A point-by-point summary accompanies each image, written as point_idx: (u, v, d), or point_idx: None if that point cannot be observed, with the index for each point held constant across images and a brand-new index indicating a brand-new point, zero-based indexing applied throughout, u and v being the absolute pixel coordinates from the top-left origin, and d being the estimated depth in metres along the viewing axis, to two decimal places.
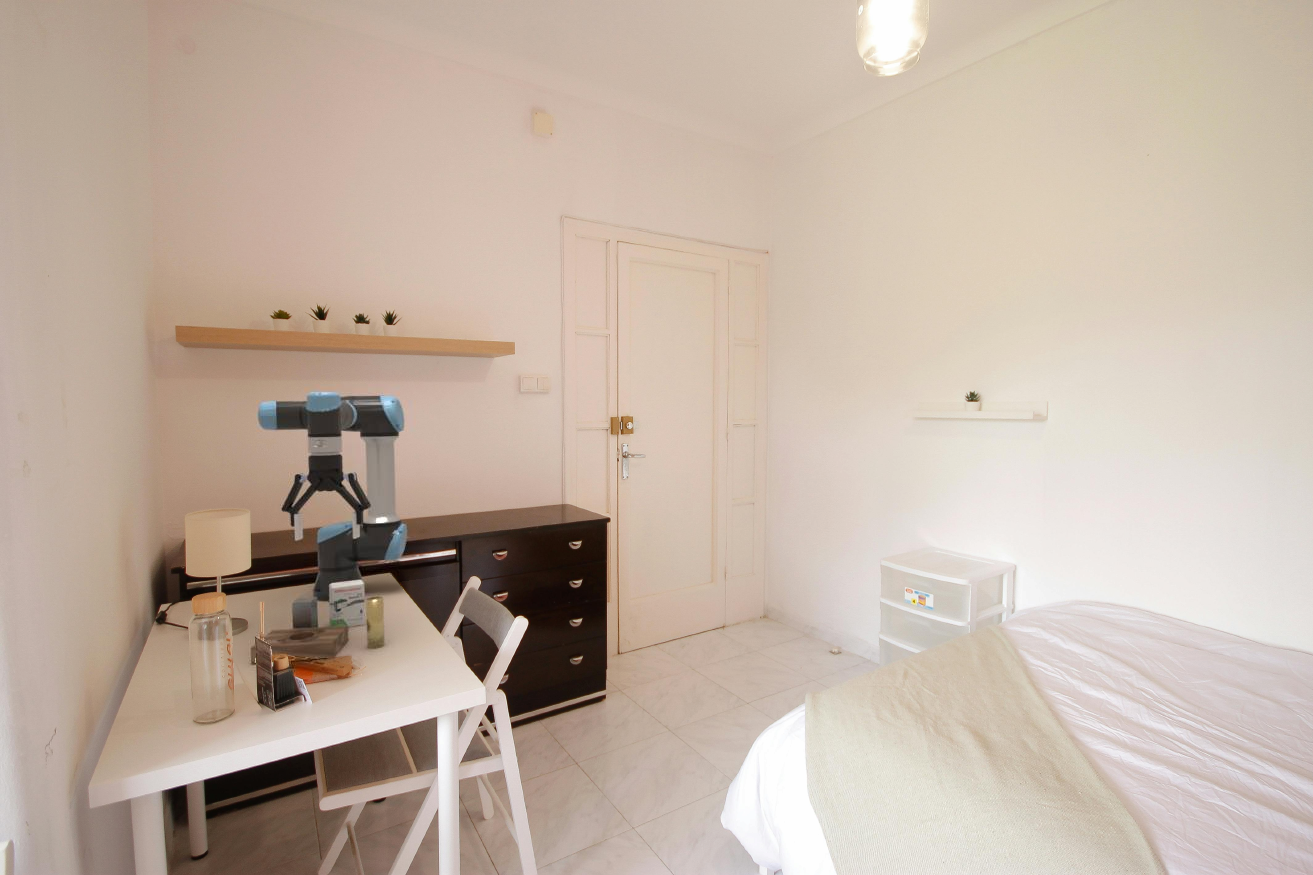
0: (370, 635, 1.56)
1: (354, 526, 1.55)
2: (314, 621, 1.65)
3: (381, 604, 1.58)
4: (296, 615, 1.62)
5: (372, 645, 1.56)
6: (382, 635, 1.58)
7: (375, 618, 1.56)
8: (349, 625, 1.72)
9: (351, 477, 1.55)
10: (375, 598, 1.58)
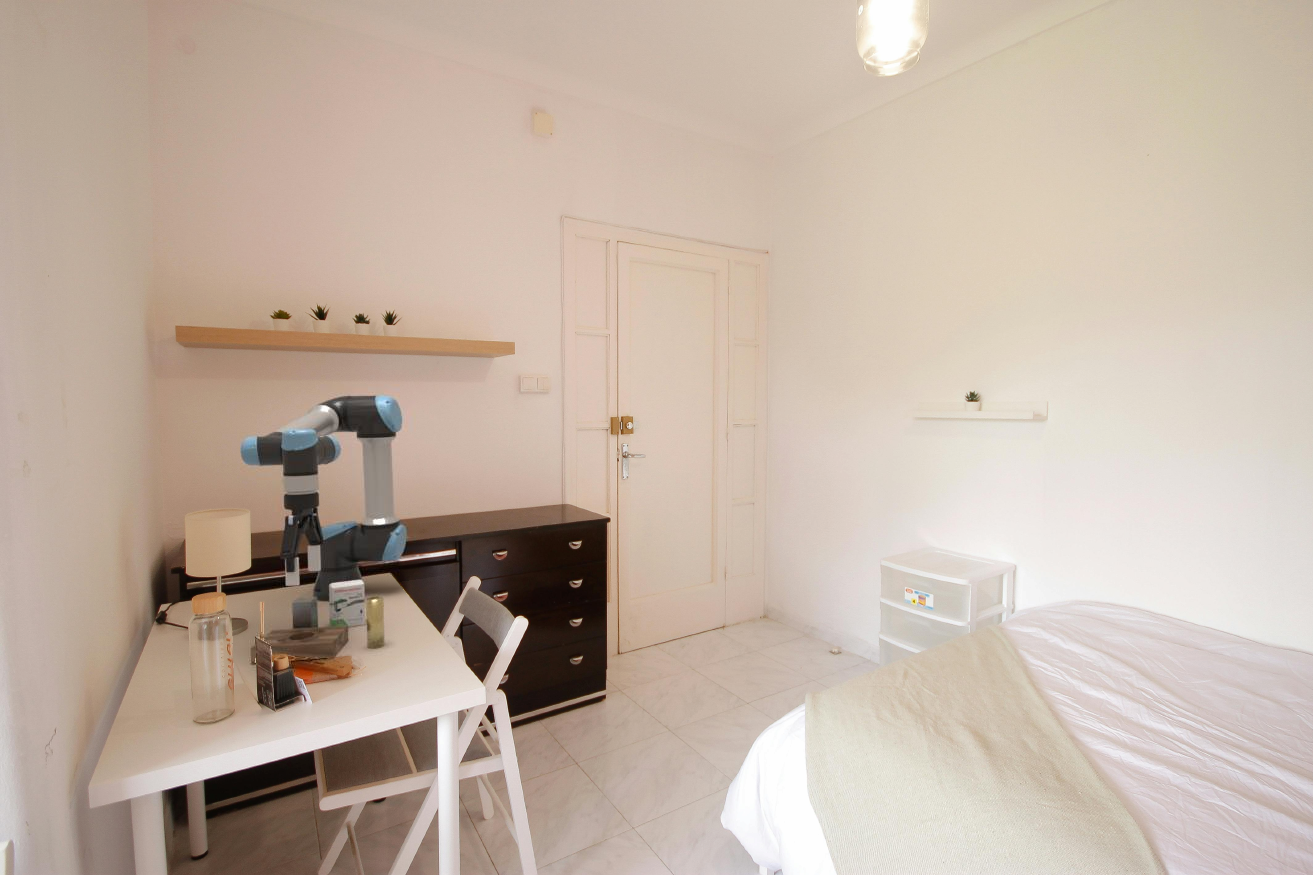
0: (370, 635, 1.56)
1: None
2: (314, 621, 1.65)
3: (381, 604, 1.58)
4: (296, 615, 1.62)
5: (372, 645, 1.56)
6: (382, 635, 1.58)
7: (375, 618, 1.56)
8: (349, 625, 1.72)
9: None
10: (375, 598, 1.58)
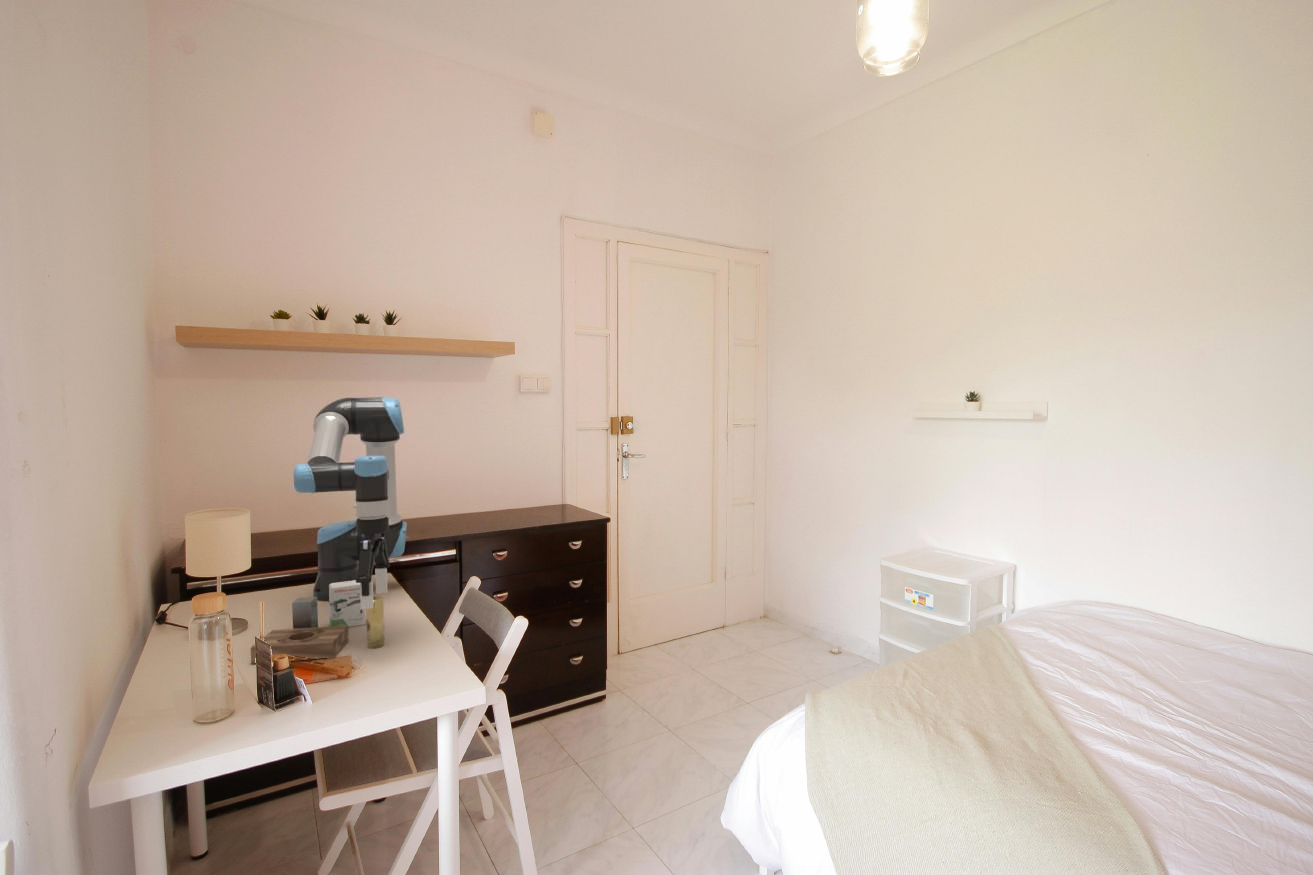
0: (370, 635, 1.56)
1: None
2: (314, 621, 1.65)
3: (381, 604, 1.58)
4: (296, 615, 1.62)
5: (372, 645, 1.56)
6: (382, 635, 1.58)
7: (375, 618, 1.56)
8: (349, 625, 1.72)
9: None
10: (375, 598, 1.58)
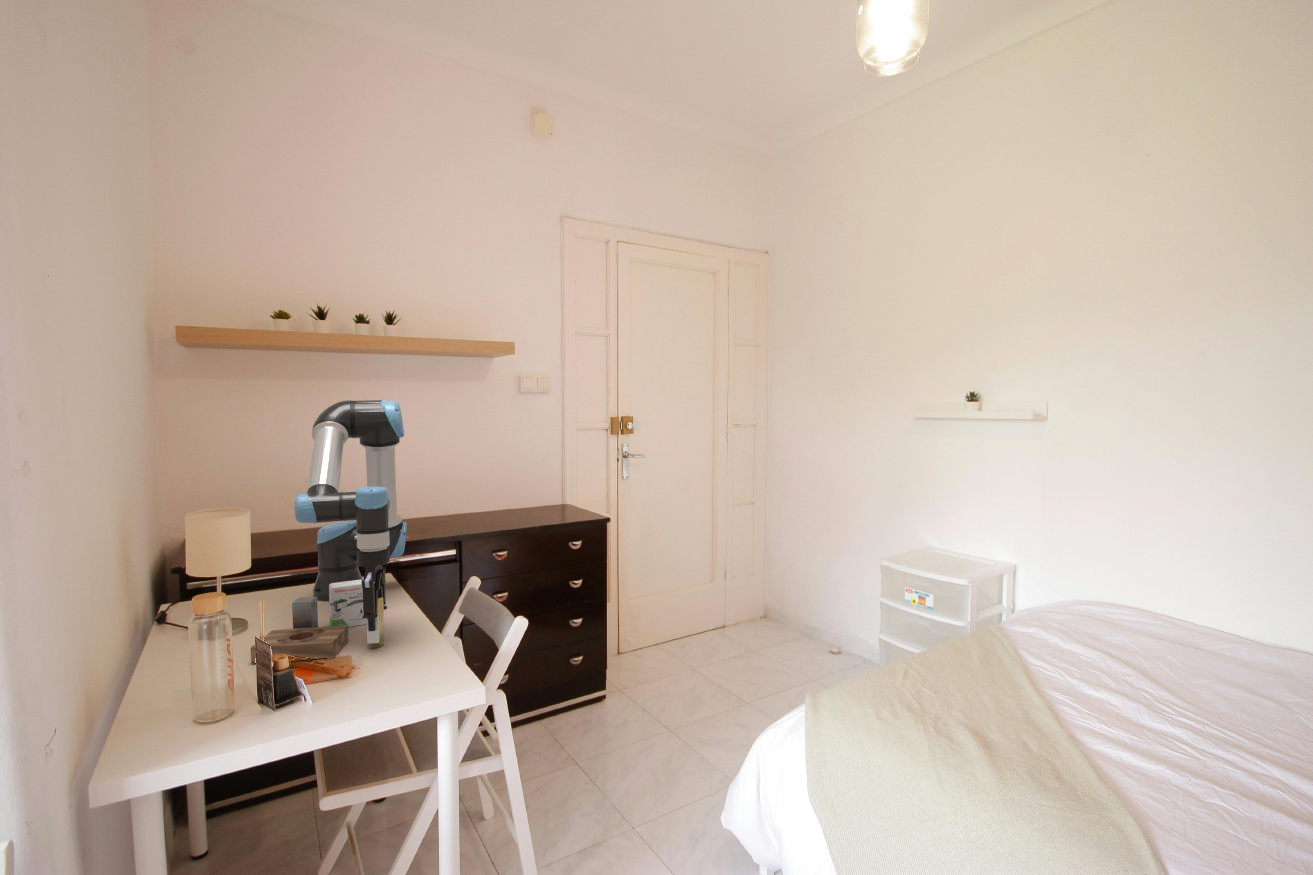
0: None
1: None
2: (314, 621, 1.65)
3: (381, 604, 1.58)
4: (296, 615, 1.62)
5: (372, 645, 1.56)
6: (382, 635, 1.58)
7: None
8: (349, 625, 1.72)
9: None
10: None
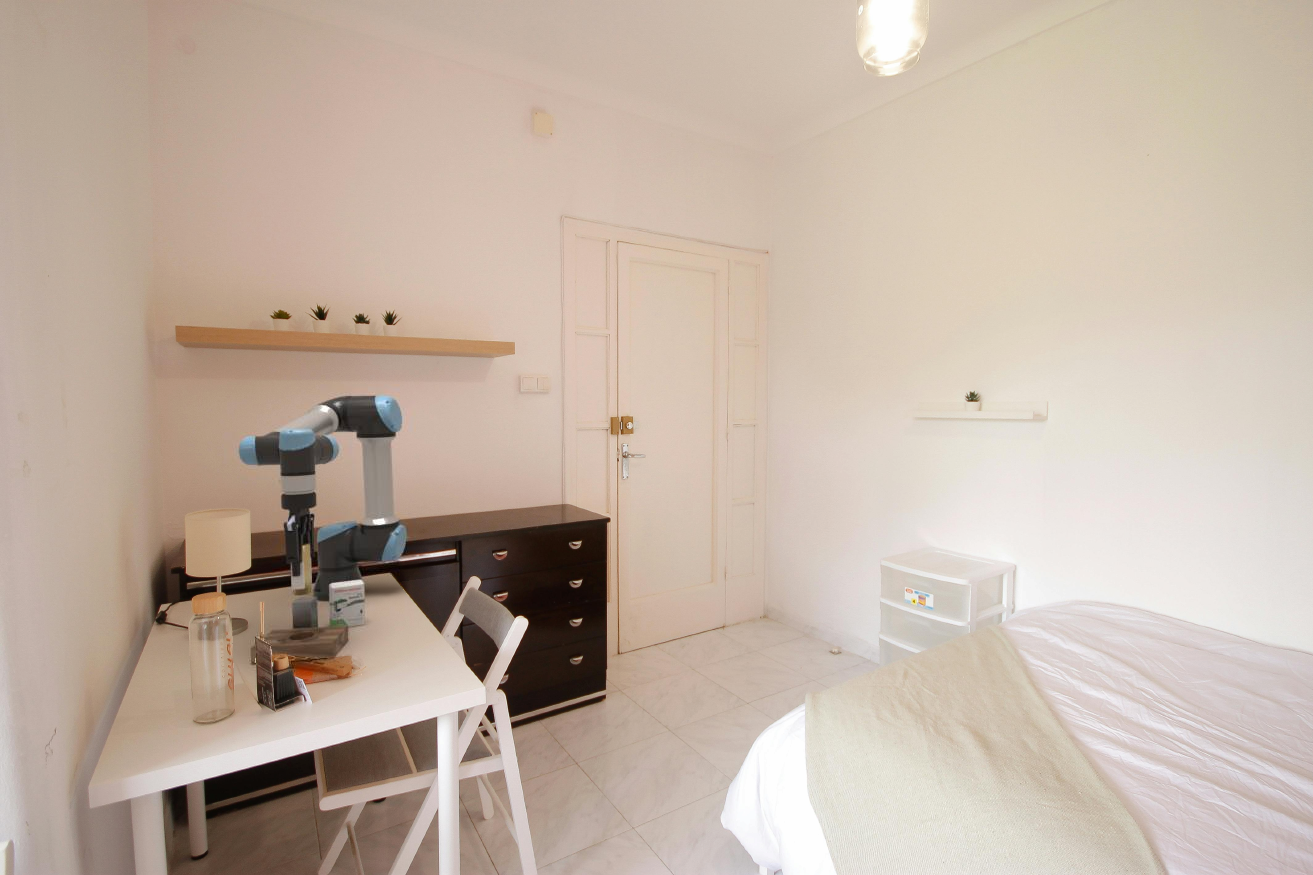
0: None
1: None
2: (314, 621, 1.65)
3: (307, 550, 1.53)
4: (296, 615, 1.62)
5: (297, 592, 1.52)
6: (308, 582, 1.53)
7: None
8: (349, 625, 1.72)
9: None
10: None
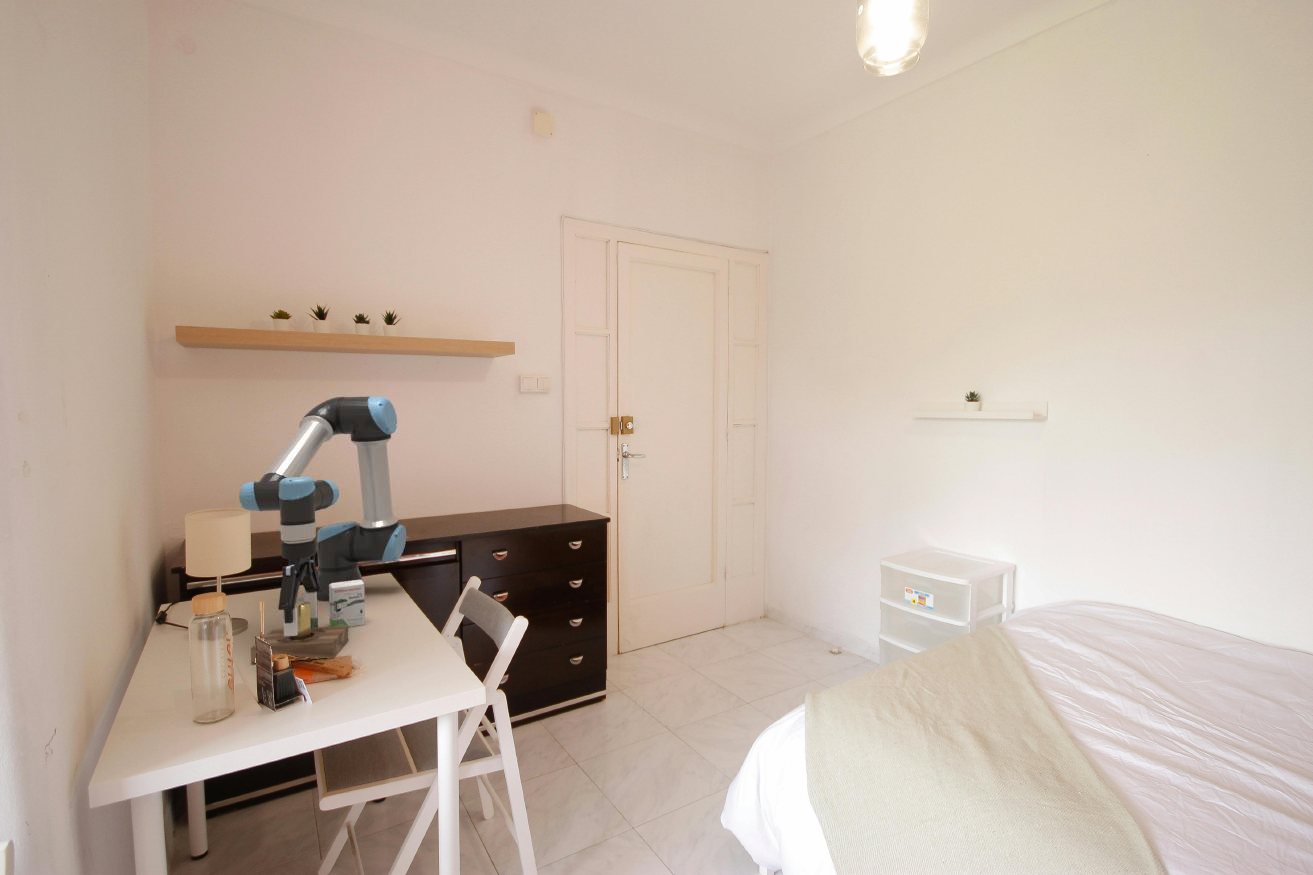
0: None
1: None
2: (314, 621, 1.65)
3: (307, 609, 1.54)
4: None
5: None
6: None
7: (300, 623, 1.52)
8: (349, 625, 1.72)
9: None
10: (301, 603, 1.54)
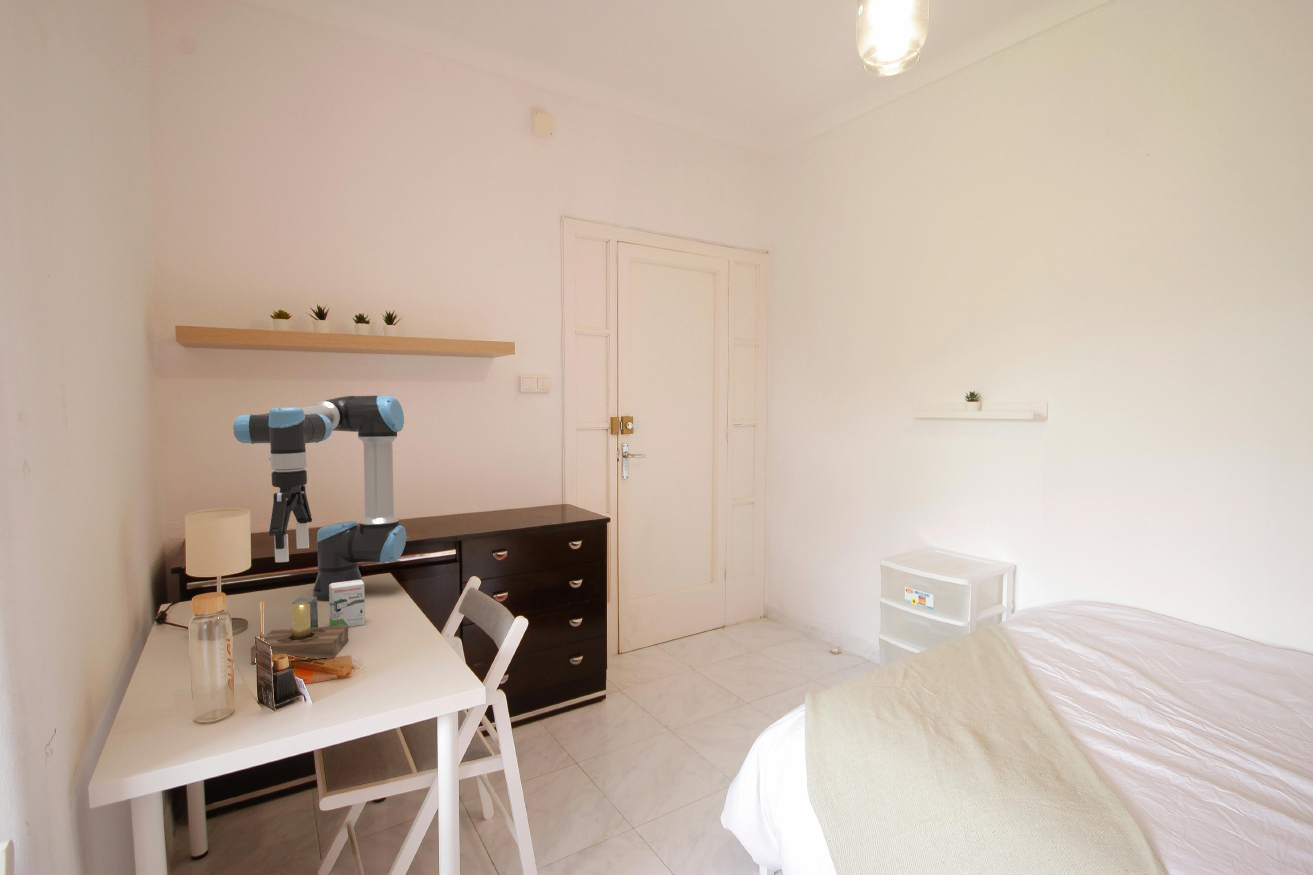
0: None
1: None
2: (314, 621, 1.65)
3: (307, 609, 1.54)
4: None
5: None
6: None
7: (300, 623, 1.52)
8: (349, 625, 1.72)
9: None
10: (301, 603, 1.54)
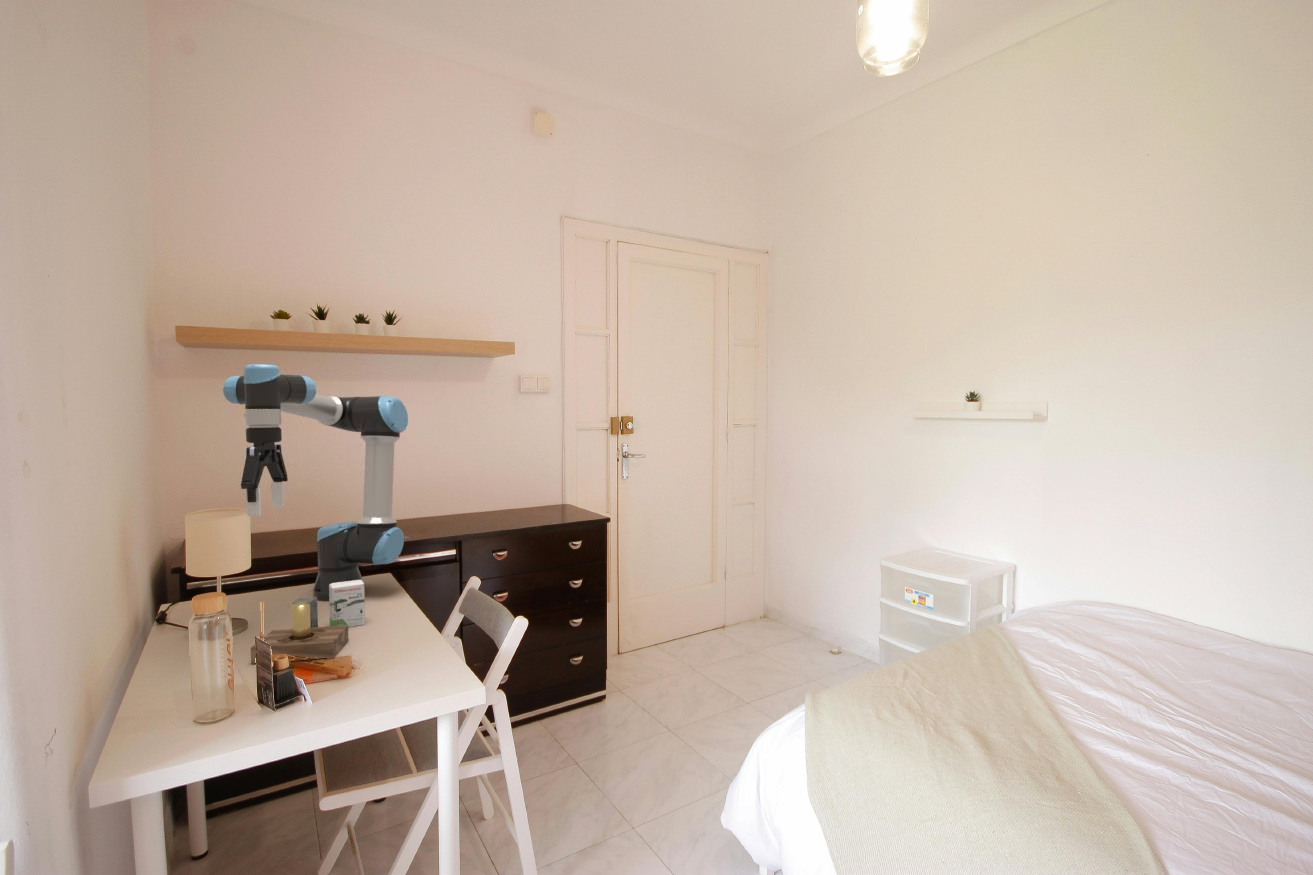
0: None
1: None
2: (314, 621, 1.65)
3: (307, 609, 1.54)
4: None
5: None
6: None
7: (300, 623, 1.52)
8: (349, 625, 1.72)
9: None
10: (301, 603, 1.54)
